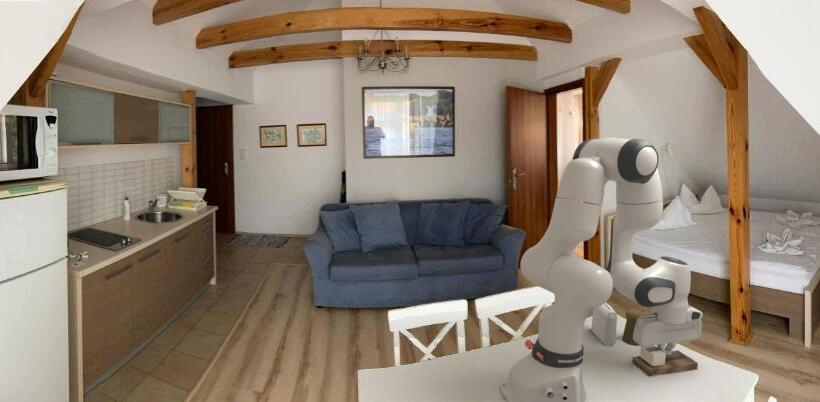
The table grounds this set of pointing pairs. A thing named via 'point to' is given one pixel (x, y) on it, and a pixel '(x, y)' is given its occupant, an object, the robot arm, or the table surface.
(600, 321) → the photo printer
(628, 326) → the cork
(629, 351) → the table surface
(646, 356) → the fader tab
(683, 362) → the slider board
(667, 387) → the table surface
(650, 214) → the robot arm
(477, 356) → the table surface
